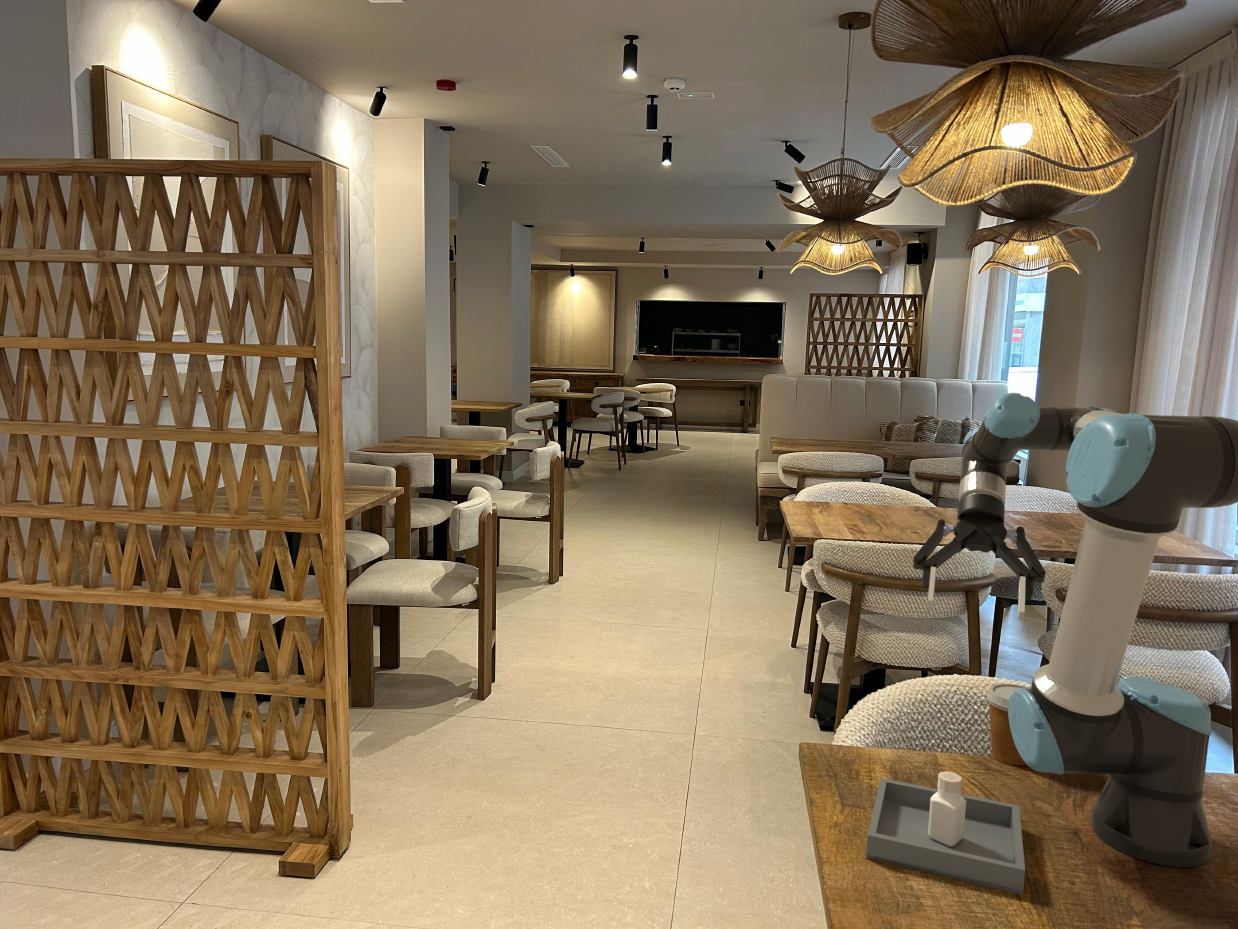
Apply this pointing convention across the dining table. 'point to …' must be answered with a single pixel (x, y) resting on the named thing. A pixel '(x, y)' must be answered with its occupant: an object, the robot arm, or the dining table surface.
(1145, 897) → the dining table surface
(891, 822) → the box
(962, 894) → the dining table surface
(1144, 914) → the dining table surface
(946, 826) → the pepper shaker
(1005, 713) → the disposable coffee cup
